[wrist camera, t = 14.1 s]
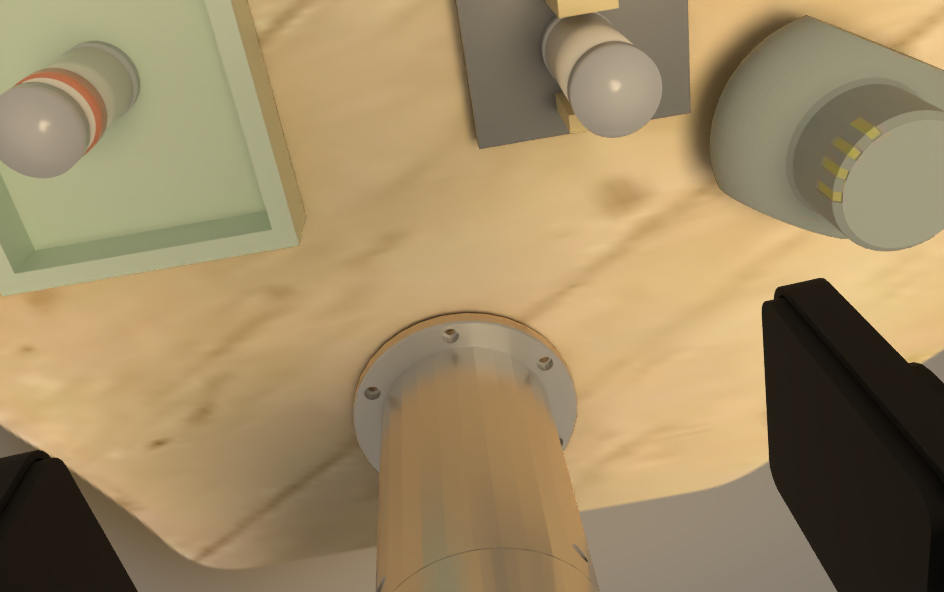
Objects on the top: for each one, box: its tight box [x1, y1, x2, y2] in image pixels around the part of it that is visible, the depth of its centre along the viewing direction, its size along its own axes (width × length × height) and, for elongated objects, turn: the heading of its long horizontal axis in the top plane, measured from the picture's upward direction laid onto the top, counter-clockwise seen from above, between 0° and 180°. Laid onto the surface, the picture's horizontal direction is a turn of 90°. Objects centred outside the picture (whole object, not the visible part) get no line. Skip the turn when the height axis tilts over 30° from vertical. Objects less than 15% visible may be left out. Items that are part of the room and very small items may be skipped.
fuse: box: [540, 12, 662, 138], centre depth 34 cm, size 3×3×8 cm
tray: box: [0, 0, 306, 296], centre depth 37 cm, size 16×14×3 cm
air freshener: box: [710, 15, 944, 251], centre depth 37 cm, size 11×8×10 cm
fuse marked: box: [0, 41, 140, 178], centre depth 34 cm, size 3×3×8 cm
